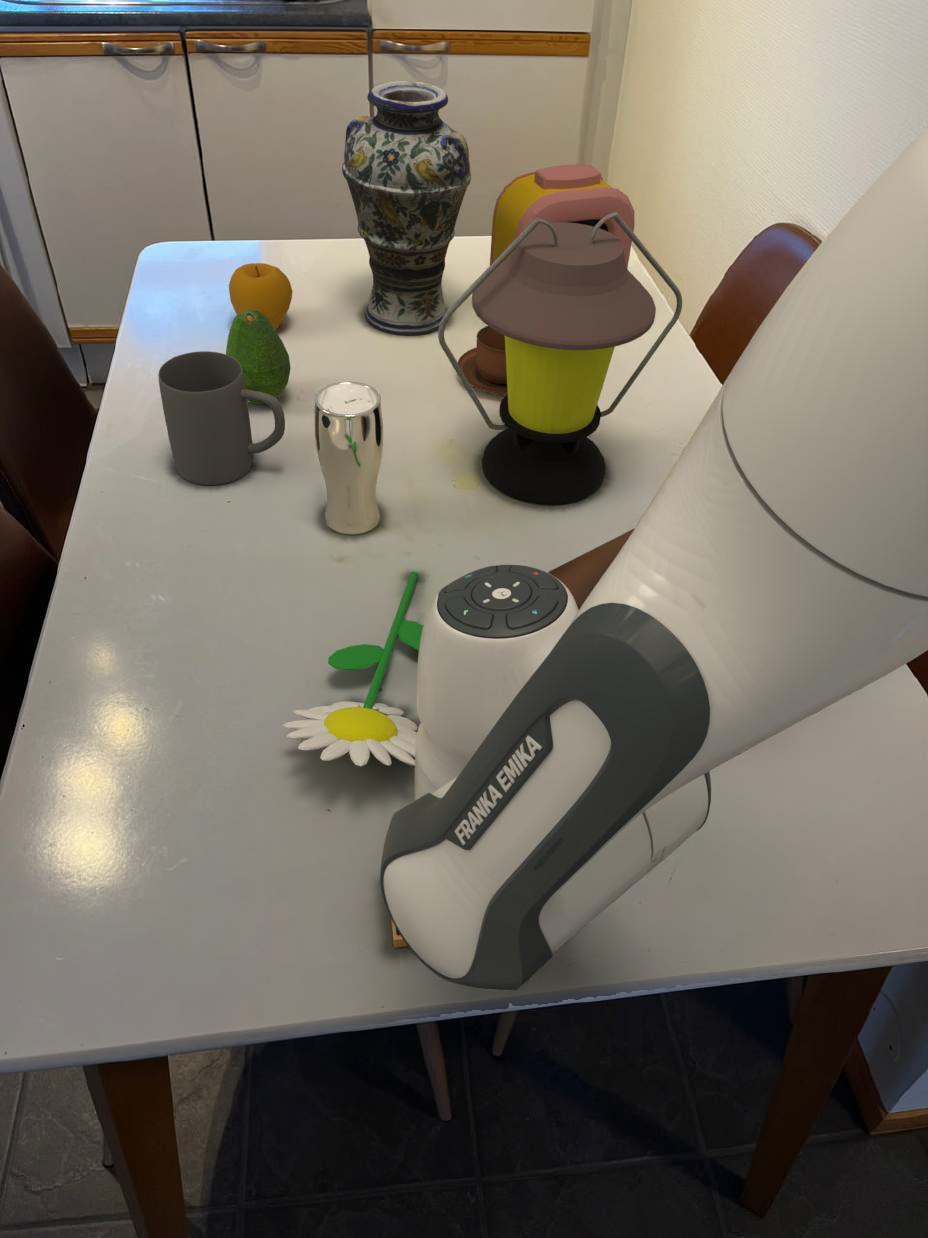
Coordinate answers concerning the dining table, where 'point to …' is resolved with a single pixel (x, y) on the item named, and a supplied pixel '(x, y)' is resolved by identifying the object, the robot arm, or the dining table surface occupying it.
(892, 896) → the dining table surface
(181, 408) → the mug
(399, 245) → the vase
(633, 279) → the lantern
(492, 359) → the cup and saucer
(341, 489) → the beer glass
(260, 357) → the fruit
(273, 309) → the apple
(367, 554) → the dining table surface
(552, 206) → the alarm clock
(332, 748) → the decorative flower
